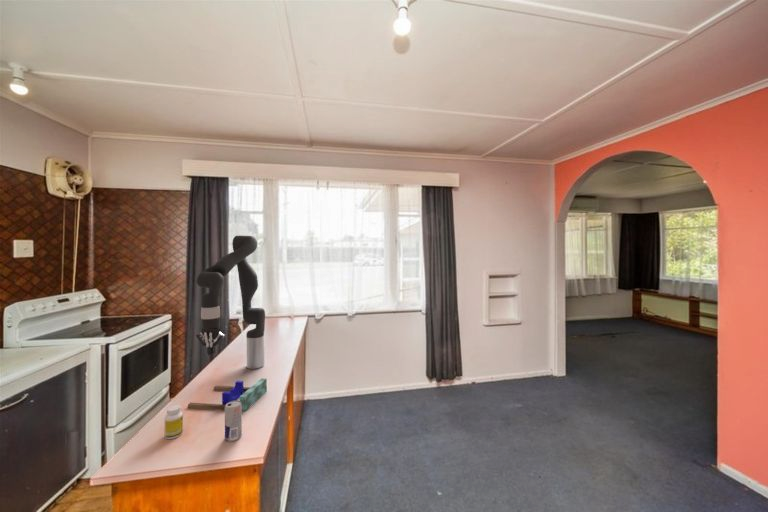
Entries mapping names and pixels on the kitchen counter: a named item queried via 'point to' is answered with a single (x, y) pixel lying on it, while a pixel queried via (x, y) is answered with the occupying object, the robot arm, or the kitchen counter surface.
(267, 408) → the kitchen counter surface
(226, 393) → the cable clip
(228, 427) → the energy drink
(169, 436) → the supplement bottle
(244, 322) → the robot arm
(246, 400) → the guide channel
